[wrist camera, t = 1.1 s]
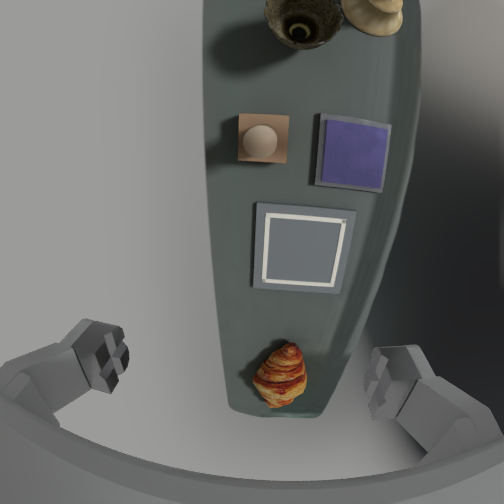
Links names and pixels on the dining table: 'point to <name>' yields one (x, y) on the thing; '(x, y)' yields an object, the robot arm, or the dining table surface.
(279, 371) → the croissant
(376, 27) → the hand bell
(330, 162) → the ink pad
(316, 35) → the cup
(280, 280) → the board
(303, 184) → the dining table surface
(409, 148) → the dining table surface
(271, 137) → the stamp
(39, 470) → the robot arm
